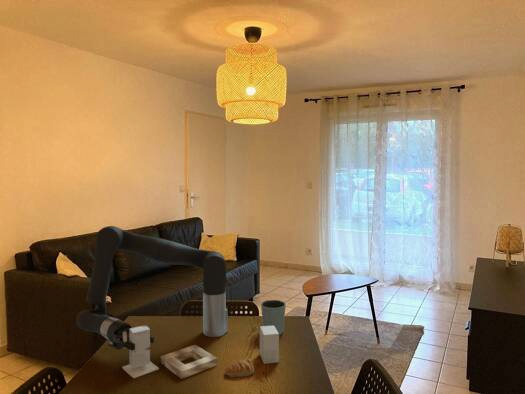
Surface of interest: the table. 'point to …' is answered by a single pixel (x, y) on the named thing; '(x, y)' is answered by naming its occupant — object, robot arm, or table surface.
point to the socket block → (185, 370)
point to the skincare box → (139, 346)
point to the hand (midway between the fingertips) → (143, 343)
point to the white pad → (140, 369)
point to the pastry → (240, 368)
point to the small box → (269, 344)
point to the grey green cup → (273, 314)
